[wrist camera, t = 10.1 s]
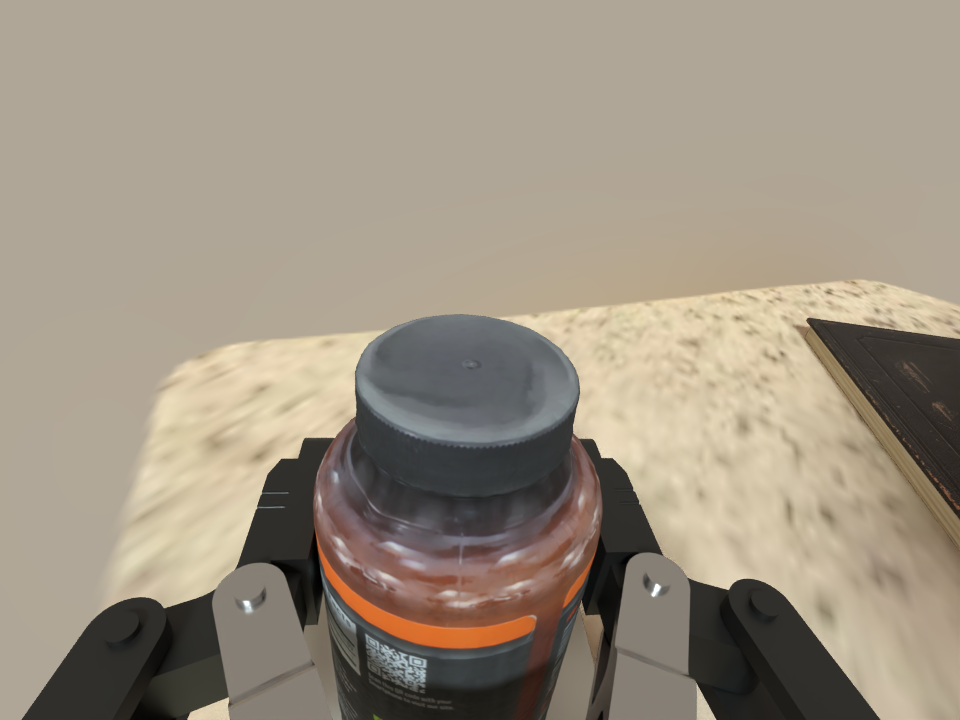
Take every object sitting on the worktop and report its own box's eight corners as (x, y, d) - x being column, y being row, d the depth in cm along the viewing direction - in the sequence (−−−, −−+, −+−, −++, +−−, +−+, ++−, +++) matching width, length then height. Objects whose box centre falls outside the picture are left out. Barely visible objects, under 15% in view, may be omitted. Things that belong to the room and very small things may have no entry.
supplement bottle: (517, 583, 18) (578, 289, 12) (572, 790, 14) (719, 473, 7) (341, 603, 17) (311, 289, 11) (332, 838, 12) (271, 508, 6)
